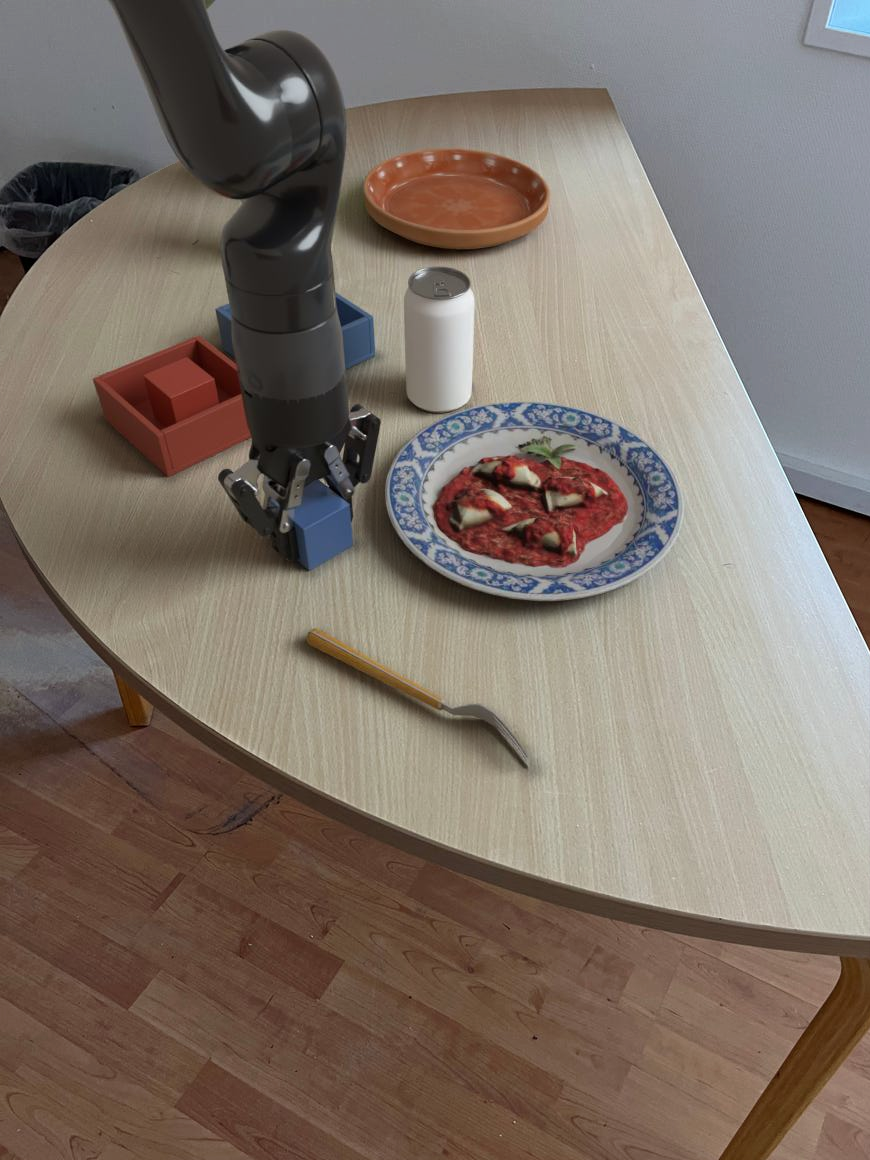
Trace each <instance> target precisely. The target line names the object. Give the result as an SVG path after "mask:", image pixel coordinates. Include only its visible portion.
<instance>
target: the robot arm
mask: <svg viewBox="0 0 870 1160" xmlns="http://www.w3.org/2000/svg"><path fill="white" fill-rule="evenodd" d="M106 1H107V2H108V3H109V5H110V7H111V8H112V10H113V12H114V14H115V16H116V19H117V20H118V23H119V26H120V28H121V30H122V33H123V35H124V37H125V41H126V42H127V45H128V48H129V51H130V53H131V56H132V58H133V60H134V62H135V65H136V66H137V69H138V72H139V74H140V76H141V79H142V81H143V84H144V86H145V89H146V91H147V94H148V97H149V99H150V102H151V104H152V107H153V109H154V113H155V114H156V117H157V119H158V123H159V125H160V127H161V129H162V132H163V133H164V136H165V138H166V139H167V143H168V144H169V146H170V148H171V149H172V151H173V153H174V155H175V156H176V158H177V159H178V161H179V162H180V163H181V164H182V166H183V167H184V168H185V169H186V170H187V172H188V173H189V174H190V175H191V176H193V178H194V179H195V180H196V181H198V182H199V183H200V184H201V185H203V186H204V188H207V189H208V190H210V191H212V192H213V193H215V194H217V195H219V196H221V197H223V198H226V199H230V200H236V201H240V200H242V199H245V200H244V202H243V203H242V202H241V204H240V206H239V207H238V208H237V209H236V211H235V212H234V213H233V214H232V215H231V217H230V218H229V219H228V220H227V221H226V223H225V224H224V225H223V227H222V229H221V233H220V234H221V235H220V240H219V251H220V260H221V266H222V273H223V276H224V282H225V287H226V294H227V298H228V304H229V305H230V311H231V332H232V343H233V350H234V356H235V357H234V360H235V364H236V367H237V372H238V378H239V384H240V389H241V395H242V400H243V406H244V411H245V417H246V422H247V426H248V429H249V432H250V434H251V445H250V448H249V452H248V461H246V462H245V463H244V464H242V465H241V466H240V467H239V468H238V469H236V470H235V471H233V470H232V469H230V468H224V469H222V470H220V471H219V473H218V477H217V479H218V482H219V484H220V485H221V487H222V489H223V490H224V492H225V493H226V495H227V497H228V498H229V500H230V501H231V503H232V505H233V506H234V509H236V511H237V513H238V514H239V516H240V518H241V519H242V521H243V522H244V523H245V524H247V525H249V526H250V527H251V528H252V529H253V530H254V531H255V532H256V533H257V534H258V535H259V536H260V537H261V538H267V537H269V538H270V545H271V549H273V551H274V552H275V553H277V554H278V555H279V556H280V558H282V559H283V560H284V561H286V560H287V561H288V562H290V563H291V564H293V563H294V562H296V561H298V559H299V558H300V557H299V550H298V544H297V537H296V530H295V527H293V521H294V515H295V510H296V507H300V505H301V501H302V496H303V490H304V488H305V487H306V486H308V485H309V484H310V483H311V482H313V481H315V480H323V483H324V484H325V485H326V486H327V487H329V488H330V489H331V490H332V491H334V492H335V493H336V494H337V495H339V496H340V497H341V498H342V499H343V500H345V501H346V502H347V503H348V504H349V505H350V516H351V523H352V522H353V518H354V509H353V498H352V496H353V495H354V493H355V489H356V488H355V487H357V486H358V485H359V484H362V485H364V484H366V483H368V482H369V481H370V479H371V477H372V472H373V467H374V462H375V457H376V452H377V451H376V450H377V446H378V441H379V434H380V430H381V424H382V421H381V419H380V418H379V417H378V416H376V415H375V414H374V413H373V412H371V411H370V410H368V408H366V407H364V406H363V405H361V404H360V403H355V404H354V405H352V406H351V408H350V409H349V396H348V383H347V371H346V370H347V369H346V370H345V359H344V346H343V336H342V329H341V324H340V320H339V316H338V311H337V305H336V293H337V292H336V283H335V282H336V281H335V272H334V261H333V256H332V255H333V254H332V240H333V233H334V228H335V224H336V219H337V216H338V210H339V209H338V208H339V203H340V195H341V188H342V181H343V175H344V168H345V167H344V166H345V160H346V151H347V150H346V149H347V129H348V127H347V126H348V125H347V112H346V105H345V101H344V95H343V92H342V88H341V86H340V85H341V84H340V83H339V80H338V77H337V75H336V72H335V70H334V68H333V66H332V65H331V63H330V61H329V59H328V58H327V56H326V55H325V54H324V52H323V50H322V49H321V48H320V47H318V45H316V43H315V42H313V41H312V40H311V39H310V38H308V37H307V36H305V35H304V34H301V33H299V32H296V31H293V30H288V29H277V30H270V31H266V32H263V33H260V34H258V35H256V36H253V37H251V38H248V39H246V40H244V41H243V42H240V43H238V44H235V45H233V46H230V47H228V48H226V49H224V48H223V47H222V45H221V43H220V41H219V40H218V37H217V35H216V32H215V30H214V27H213V25H212V22H211V19H210V16H209V12H208V9H209V8H210V7H211V6H212V5H213V4H214V2H216V0H106ZM335 292H336V293H335ZM342 451H343V452H342ZM341 452H342V457H341ZM260 475H263V478H262V484H261V485H262V486H261V487H262V490H263V493H264V499H263V505H261V503H260V501H259V499H258V498H257V496H259V495H260V490H259V484H258V479H259V477H260ZM279 506H280V509H279Z"/></svg>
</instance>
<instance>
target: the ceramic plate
mask: <svg viewBox="0 0 870 1160" xmlns="http://www.w3.org/2000/svg"><path fill="white" fill-rule="evenodd" d="M384 487H385V488H384V497H385V499H384V500H385V506H386V511H387V514H388V517H389V519H390V522H391V525H392V527H393V529H394V531H395V532H396V534H397V536H398V538H400V539H401V541H402V542H403V544H404V545H405V546H406V548H408V550H410V552H411V553H412V554H413V555H414V556H415V557H416V558H418V559H419V560H420V561H422V562H423V563H424V564H425V565H426V566H427V567H429V568H431V569H432V570H434V571H436V572H437V573H439V574H440V575H442V576H443V577H445V578H447V579H449V580H451V581H453V582H455V583H458V584H460V585H462V586H464V587H467V588H469V589H472V590H476V591H479V592H482V593H485V594H490V595H494V596H499V597H502V598H508V599H513V600H522V601H523V600H525V601H535V602H556V601H570V600H578V599H584V598H589V597H593V596H597V595H601V594H604V593H608V592H611V591H614V590H616V589H618V588H621V587H623V586H625V585H628V584H630V583H632V582H633V581H635V580H638V579H639V578H641V577H642V576H644V575H646V574H647V573H649V572H650V571H651V570H652V569H653V568H655V566H657V565H658V564H660V562H661V561H662V560H663V559H664V558H665V557H666V556H667V554H669V552H670V550H671V549H672V548H673V546H674V544H675V543H676V541H677V539H678V537H679V536H680V535H679V534H680V532H681V529H682V526H683V521H684V516H685V503H684V502H685V501H684V494H683V490H682V487H681V484H680V482H679V480H678V477H677V475H676V473H675V472H674V469H673V468H672V466H671V465H670V463H669V462H668V461H667V459H666V458H664V457H663V455H662V454H661V453H660V451H658V449H656V448H655V447H654V446H653V445H652V444H651V443H650V442H649V441H648V440H646V439H645V438H643V436H640V435H639V434H637V433H636V432H634V431H633V430H632V429H630V428H628V427H626V426H624V425H622V424H621V423H619V422H617V421H615V420H613V419H610V418H608V417H605V416H603V415H600V414H598V413H595V412H591V411H589V410H586V409H583V408H579V407H574V406H568V405H563V404H557V403H553V402H552V403H551V402H542V401H529V400H528V401H507V402H506V401H505V402H504V401H503V402H495V403H494V402H493V403H487V404H483V405H479V406H474V407H470V408H465V409H463V410H460V411H457V412H454V413H451V414H449V415H446V416H443V417H441V418H440V419H437V420H436V421H434V422H432V423H431V424H429V425H427V426H426V427H424V428H423V429H421V430H420V431H419V432H418V433H416V434H415V435H414V436H412V437H411V438H410V439H409V440H408V441H407V442H406V443H405V445H403V446H402V447H401V448H400V450H399V451H398V452H397V454H396V456H395V457H394V459H393V461H392V463H391V465H390V467H389V470H388V472H387V476H386V480H385V485H384Z"/></svg>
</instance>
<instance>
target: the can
mask: <svg viewBox="0 0 870 1160" xmlns="http://www.w3.org/2000/svg"><path fill="white" fill-rule="evenodd" d="M407 285H408V286H407V288H406V290H405V293H404V296H403V322H404V323H403V324H404V326H403V329H404V353H405V354H404V358H405V359H404V361H405V362H404V364H405V389H406V390H405V391H406V396H407V398H408V400H409V401H410V402H411V403H412V405H414V406H415V407H417V408H419V409H420V410H422V411H424V412H429V413H433V414H435V413H436V414H445V413H450V412H454V411H456V410H459V409H461V408H462V407H463V406H464V405H465V404H467V403H468V402H469V401H470V399H471V397H472V392H473V372H474V371H473V368H474V367H473V365H474V342H475V341H474V339H475V338H474V337H475V295H474V293H473V289H472V288H471V285H472V284H471V279H470V278H469V276H468V275H467V274H466V273H464V272H462V271H461V270H459V269H456V268H453V267H449V266H428V267H424V268H421V269H418V270H416V271H415V272H413V273H412V274H411V275H410V276H409V277H408V281H407Z"/></svg>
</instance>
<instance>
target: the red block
mask: <svg viewBox="0 0 870 1160" xmlns="http://www.w3.org/2000/svg"><path fill="white" fill-rule="evenodd" d="M143 376H144V380H145V384H146V388H147V391H148V395H149V399H150V403H151V406H152V410H153V414H154V417H155V418H156V419H157V420H158V421H160V422H161V423H162V424H163V425H164V426H165V427H169V426H171V425H173V424H176V423H178V422H180V421H182V420H185V419H187V418H189V417H191V416H193V415H196V414H198V413H200V412H202V411H204V410H207V409H209V408H211V407H213V406H215V405H218V404H219V400H218V395H217V390H216V385H215V380H214V378H213V377H211V376H210V375H209V374H208V373H206V372H205V371H204V370H203V369H201V368H200V367H199V366H198V365H196V364H195V363H194V362H192V361H191V360H190V359H189V358H187V357H186V358H183V359H181V360H179V361H176V362H174V363H172V364H169V365H167V366H164V367H162V368H160V369H157V370H155V371H152V372H150V373H148V374H145V375H143Z"/></svg>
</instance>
